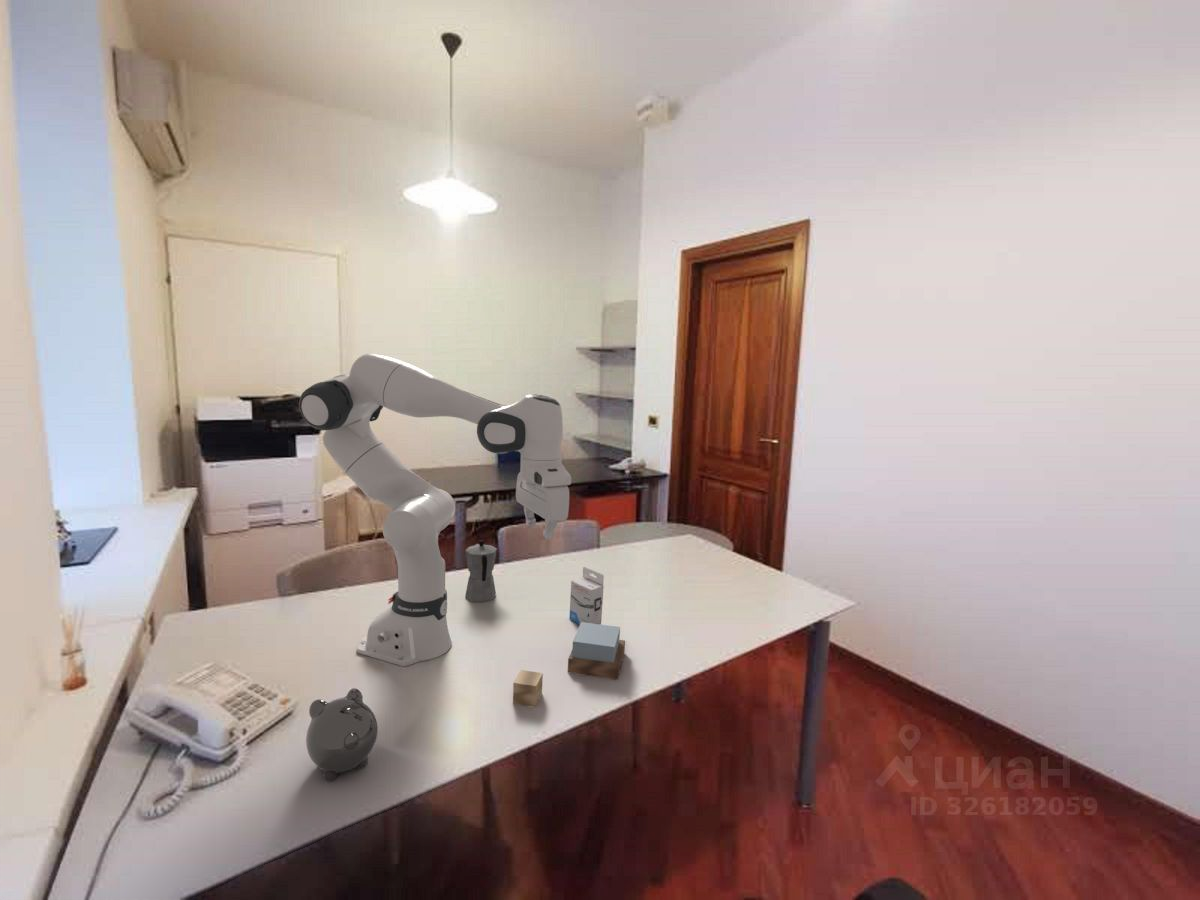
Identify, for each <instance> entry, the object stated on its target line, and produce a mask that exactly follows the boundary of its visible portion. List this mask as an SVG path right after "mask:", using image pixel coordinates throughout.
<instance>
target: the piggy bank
mask: <svg viewBox="0 0 1200 900" xmlns="http://www.w3.org/2000/svg"><path fill="white" fill-rule="evenodd" d="M363 697H364V695H363V694H362V691H360V689H358V688H355V687H353V688H351V689H349V691H348V692H347V694H346V695H345V696H344V697H340V698H339V697H338V698H335V699H332V700H331V701H329V702H327V701H326V700H324V699H319V698H318V699H315V700H313V701H312V702H311V704H310V706H309V709H308V714H309V717H310V718H311V720H310V723H309V726H308V727H307V731H306V736H305V738H306V739H305V745H306V751H307V753H308V756H309V758H310V760H311V761H312V763H313V764H314V765H316V766H317V767H318V768H320V769H321V770H322V772H323V779H324V781H325V782H332V781H334V780H335V779H336V778H337V775H338V773H343V772H347V771H350V770H353V769H354V768H356V767H357V768H358V769H360V770H361V769H365V768H366V767H367V766H368V764H369V755H370V753H371V752H372V750H373V749H374V747H375V744H376V741H377V739H378V734H379V733H378V732H379V731H378V730H379V729H378V728H379V727H378V721H377V718H376V715H375V713H374V712H373V710H372V709H371V708H370V707H369V706H368V705H367V704H366V703H365V702H364V700H363V699H364V698H363Z"/></svg>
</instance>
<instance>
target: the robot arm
mask: <svg viewBox="0 0 1200 900" xmlns="http://www.w3.org/2000/svg"><path fill="white" fill-rule="evenodd" d="M298 401H299V402H298V408H299V412H300V415H301V416H302V418H303V419H304V421H305V423H307V425H309V426H310V427H312V428H314V429H316V430H319V431H325V432H324V433H323V437H322V442H323V446H324V447H325V449H326V451H327V452H328V453H329V455H330V457H332V459H333V460H334V462H335V463H336V464H337V466H338V467H339V468H340V469H341V470H342V472H343V473H344V474H345V475H346V476H347V477H349V479H351V481H352V482H353V484H355V485H356V486H357V487H358V488H359V489H360V490H361V491H362V492H363V494H365V495H366V496H367V497H368V498H369V499H371V500H373V501H376V502H380V503H382V504H383V505H386V506H387V507H389V508H391V509H392V510H391V511H390V512H389V514H388V515H387V516H386V518H385V520H384V522H383V524H382V534H383V537H384V540H385V541H386V543H387V544H388V545H389V546H390V547H392V549H393V552H394V555H395V560H396V566H397V582H398V583H397V587H398V588H397V589H398V590H397V591H396V592H395V593H393V594H392V596H391V597H389V598H388V599H387V600H388V603H387V604H388V605H389V604H392V605H391V606H390V607H388V608H387V609H386V610H384V611H383V612H382V613H380V614H378V616H376V617H375V618H374V619H373V620H372V622H371V623H370V625H369V626H368V629H367V634H366V635H364V636H363V637H362V638H361V639H360V640H359V642H358V644H357V648H356V653H358V654H360V655H364V656H368V657H371V658H373V659H378V660H381V661H385V662H388V663H391V664H394V665H398V666H401V667H406V666H410V665H412V664H415V663H419V662H423V661H427V660H432V659H435V658H437V657H440V656H442V655H443V654H445V653H447V652H448V651H449V650H450V648H451V647H452V639H451V636H450V633H449V628H448V621H447V620H448V619H447V613H448V592H447V590H446V561H445V559H444V558H443V557H442V555H441V552H440V547H439V535H440V532H441V531H443V530H444V529H446V528H447V527H448V526H449V524H450V523H451V521H452V519H453V517H454V514H455V511H456V503H455V500H454V498H453V496H452V495H451V494H450V493H449V492H448V491H445V490H444V489H441V488H438V487H436V486H434V485H432V483H430V482H428V481H427V480H425V479H424V478H422V477H421V476H419V475H418V474H417V473H416V472H414V471H413V470H411V469H410V468H408V466H406V465H405V464H404V463H403V462H402V461H401V460H400V459H399V458H398V457H397V455H395V454H394V453H393V451H392V450H390V448H388V446H387V445H386V444H384V443H383V442H382V440H381V439H380V438H379V437H378V436H377V435H376V434H375V433H374V431H372V428H371V426H370V425H371V424H370V422H374V421H376V420H378V419H379V416H380V414H381V411H383V408H386V409H387V410H390V411H392V412H395V413H397V414H401V415H404V416H407V417H412V418H434V417H435V418H436V417H437V418H439V417H449V418H451V417H452V418H458V419H461V420H465V421H467V422H470V423H473V424H475V425H477V427H476V436H477V439H478V442H479V444H480V445H481V447H483V448H484V449H485V450H486V451H488V452H490V453H493V454H499V455H500V454H506V453H511V452H519V453H520V471H519V472H518V474H517V478H516V487H515V498H516V503H519V504H520V505H521V506H523V512H524V516H525V526H527V527H528V528H534V527H536V521H537V519H536V518H535V514H536V515H538V517H541V518H542V519H544V524H545V528H544V529H543V531H542V537H543V538H544V539H546V540H552V539H554V534H555V532H554V531H555V530H556V527H557V525H558V524H559V523H560V524H561V523H566V521H567V519H568V517H569V510H570V488H569V487H568V486H570V485H572V476H571V473H569V471H567V469H566V468H565V465H564V464H563V463H562V462H563V459H562V458H563V457H562V451H561V445H562V440H563V437H564V436H563V432H564V431H563V429H564V428H563V427H564V425H563V424H564V423H563V412H562V407H561V404H560V403H559V402H558V400H557V399H555V398H552V397H549V396H546V395H542V394H534V393H533V394H532V393H531V394H527V395H525V396H524V397H523V398H521V399H520V400H518V401H516V402H514V403H512V404H509V405H506V404H500V403H498V402H495V401H492V400H490V399H486V398H484V397H481V396H478V395H476V394H473V393H470V392H468V391H465V390H462V389H460V388H458V387H456V386H455V385H453V384H451V383H448V382H446V381H444V380H442V379H440V378H439V377H436V376H435V375H433V374H430V373H429V372H427V371H425V370H423V369H421V368H419V367H416V366H415V365H412V364H410V363H408V362H405V361H402V360H399V359H397V358H393V357H389V356H385V355H382V354H381V355H380V354H376V353H366V354H363V355H361V356H359V357H358V358H356V360H355V361H354V362H353V364H352V365H351V368H350V371H349V373H343V374H339V375H336V376H334V377H332V378H329V379H326V380H324V381H320V382H316V383H315V384H312V385H311V386H309V387H308V388H306V389H305V390H304V391H303V392H302V393H301V395H300V397H299V400H298Z"/></svg>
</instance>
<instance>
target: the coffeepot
mask: <svg viewBox="0 0 1200 900" xmlns="http://www.w3.org/2000/svg"><path fill="white" fill-rule="evenodd" d="M497 551H498V548H497V547H495V546H493V545H491V544H485V540H484V539H480V540H478V543H476V544H475V545H471V546H468V547H467V548H466V549H465V557H466V563H467V564H466V565H467V569H468V572H469V577H468V580H467V586H466V591H465V596H464V597H465V598H466V599H467V600H468V601H470V602H474V603H484V602H489V601H492V600H494V598H495V597H496V594H497V593H496V585H495V581H494V574H493V570H494V569H495V568H494V567H495V561H496V557H497Z"/></svg>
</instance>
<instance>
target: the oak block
mask: <svg viewBox="0 0 1200 900" xmlns="http://www.w3.org/2000/svg"><path fill="white" fill-rule="evenodd" d="M543 676H544V674H543V672H537V671H530V670H525V669H524V670H523V669H520V670H519V673H518V674H517V675H516V678H515V680H513V682H512V683H513V684H512V685H513V687H512V704H513V705H518V706H524V707H530V708H536V707H537V705H538V703H539V701H540V699H541V697H542V695H543V681H544V680H543V679H544V678H543Z"/></svg>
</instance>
